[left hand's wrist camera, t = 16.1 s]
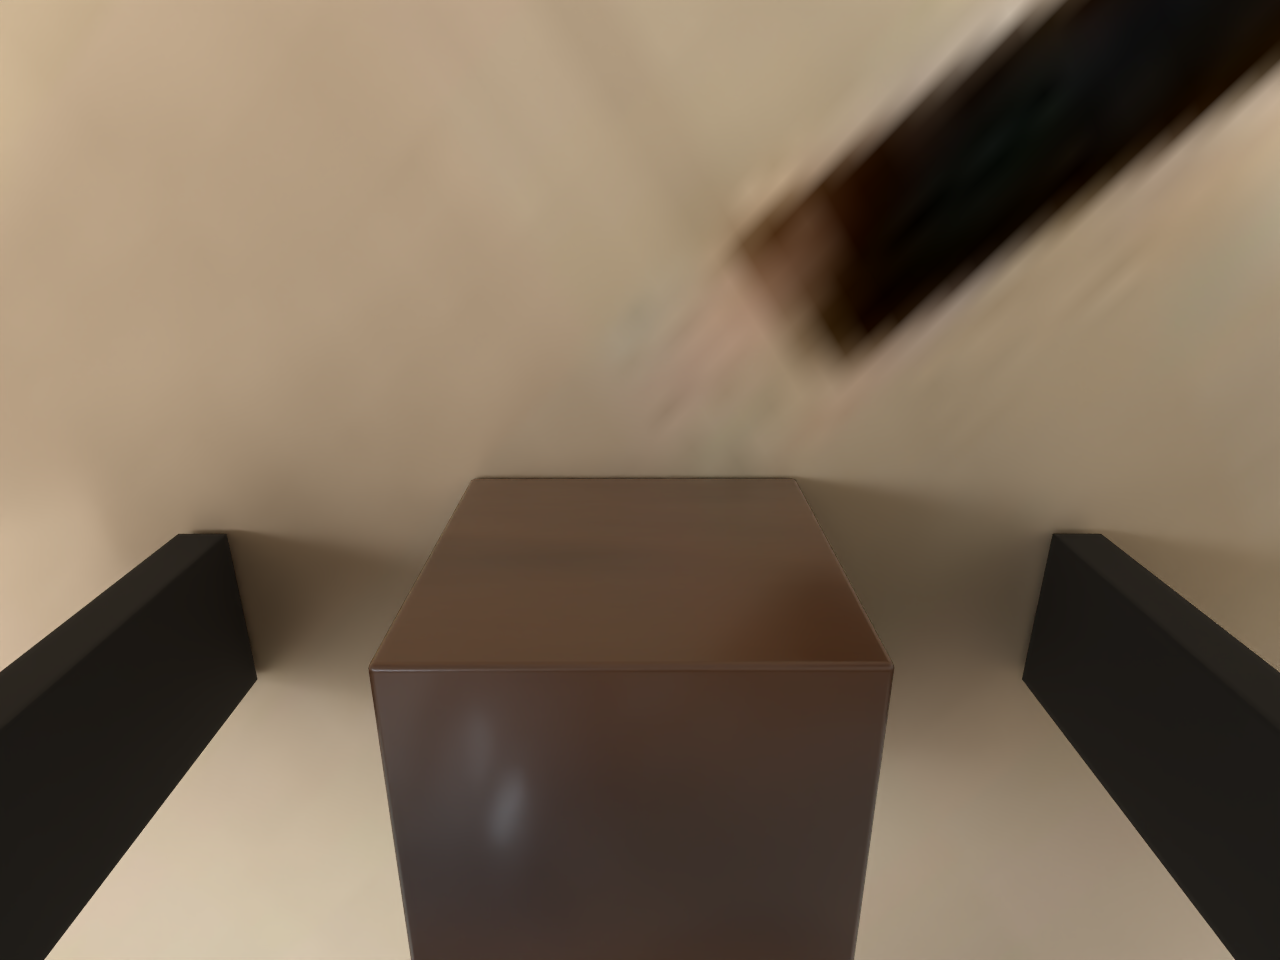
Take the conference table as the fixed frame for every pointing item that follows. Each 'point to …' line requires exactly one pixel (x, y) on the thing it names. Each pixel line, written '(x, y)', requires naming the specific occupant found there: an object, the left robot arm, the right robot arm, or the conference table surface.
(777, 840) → the cube
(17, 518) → the conference table surface
